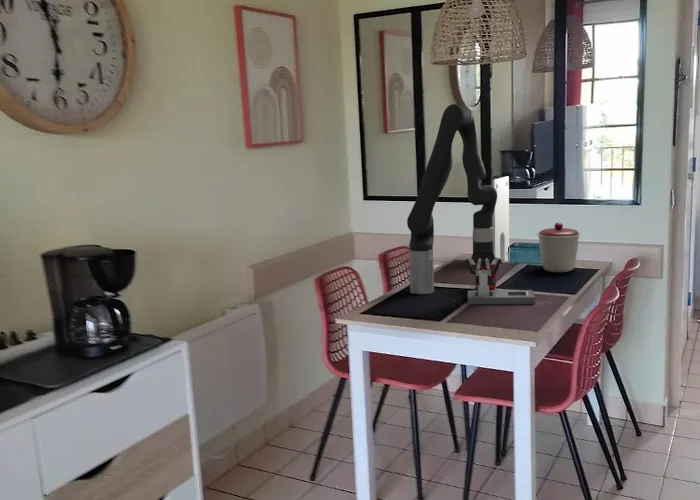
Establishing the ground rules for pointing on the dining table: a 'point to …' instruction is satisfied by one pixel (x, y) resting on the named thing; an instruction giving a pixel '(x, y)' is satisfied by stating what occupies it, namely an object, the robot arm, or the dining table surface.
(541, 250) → the canister
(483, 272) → the plug
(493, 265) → the canned food
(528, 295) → the panel
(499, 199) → the white bracket plate
